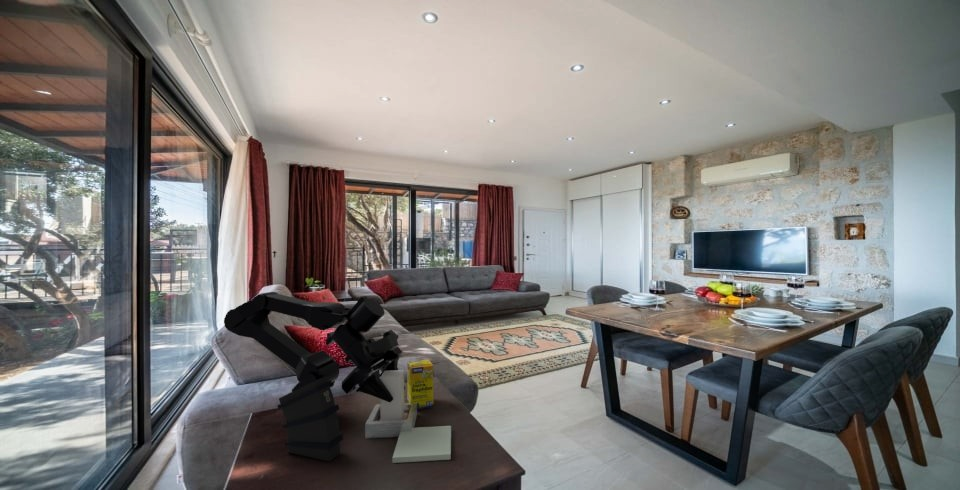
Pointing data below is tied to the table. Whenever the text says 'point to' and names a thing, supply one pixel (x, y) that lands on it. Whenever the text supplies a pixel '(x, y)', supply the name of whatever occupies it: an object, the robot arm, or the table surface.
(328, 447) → the black ridged block stack
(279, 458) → the table surface
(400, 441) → the sage pad
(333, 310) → the robot arm
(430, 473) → the table surface
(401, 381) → the plug
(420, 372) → the supplement box
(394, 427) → the holder collar
